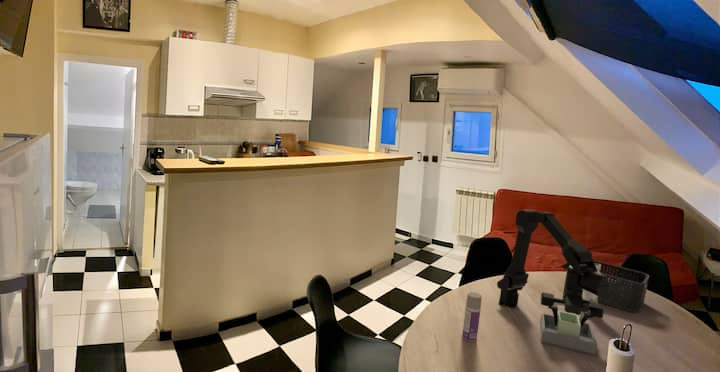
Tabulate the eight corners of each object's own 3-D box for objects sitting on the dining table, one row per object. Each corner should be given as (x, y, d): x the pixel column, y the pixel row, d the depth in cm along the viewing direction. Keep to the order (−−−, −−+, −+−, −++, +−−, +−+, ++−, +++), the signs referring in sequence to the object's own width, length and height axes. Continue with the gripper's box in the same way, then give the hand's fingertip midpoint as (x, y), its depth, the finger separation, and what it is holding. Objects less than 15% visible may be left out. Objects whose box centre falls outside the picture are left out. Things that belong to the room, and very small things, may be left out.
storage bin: (645, 302, 181) (650, 273, 179) (638, 315, 166) (644, 283, 164) (574, 282, 199) (578, 256, 197) (563, 292, 185) (567, 264, 183)
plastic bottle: (599, 316, 161) (608, 268, 158) (581, 314, 162) (589, 265, 159) (593, 310, 167) (601, 262, 164) (576, 307, 169) (583, 260, 166)
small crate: (556, 334, 138) (559, 320, 137) (555, 323, 146) (557, 310, 145) (578, 340, 135) (580, 325, 135) (575, 328, 144) (578, 315, 143)
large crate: (540, 342, 137) (542, 331, 136) (539, 322, 151) (541, 312, 151) (595, 356, 131) (597, 344, 130) (588, 334, 145) (590, 323, 145)
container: (477, 336, 137) (482, 293, 135) (476, 343, 133) (481, 299, 131) (462, 333, 139) (467, 291, 136) (461, 339, 134) (466, 296, 132)
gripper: (544, 286, 134) (537, 331, 137) (610, 299, 127) (601, 346, 130) (543, 276, 145) (537, 317, 147) (604, 287, 138) (596, 331, 140)
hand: (567, 328), depth 140 cm, fingers closed on small crate, 6 cm apart
